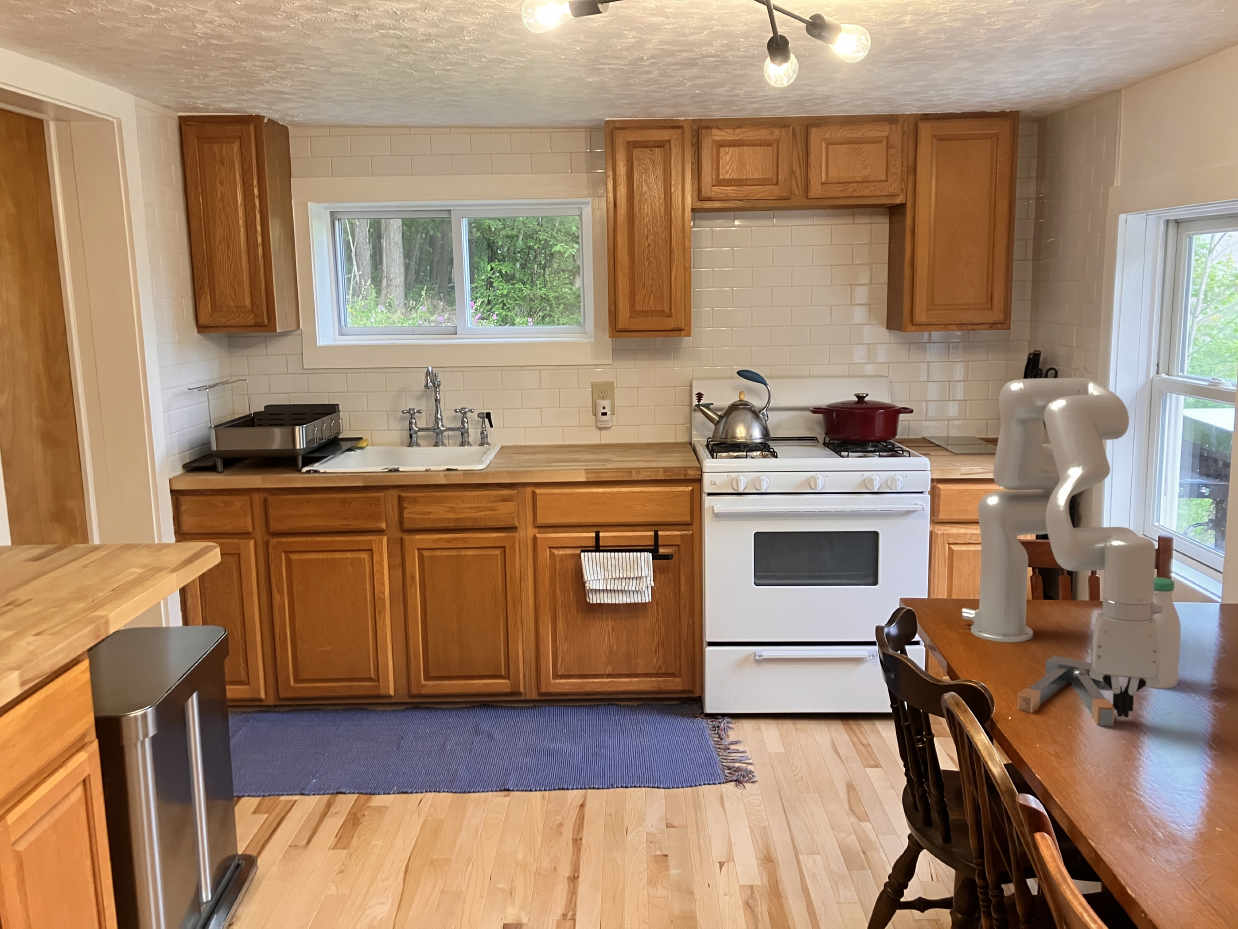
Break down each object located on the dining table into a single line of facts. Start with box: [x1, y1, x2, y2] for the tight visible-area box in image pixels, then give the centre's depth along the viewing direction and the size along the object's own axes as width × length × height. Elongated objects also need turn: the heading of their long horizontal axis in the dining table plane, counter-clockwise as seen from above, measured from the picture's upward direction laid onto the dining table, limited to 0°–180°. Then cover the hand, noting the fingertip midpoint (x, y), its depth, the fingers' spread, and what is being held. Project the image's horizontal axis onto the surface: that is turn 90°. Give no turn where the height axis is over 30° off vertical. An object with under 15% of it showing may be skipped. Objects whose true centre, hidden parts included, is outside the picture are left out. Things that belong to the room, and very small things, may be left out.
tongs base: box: [1016, 654, 1107, 714], centre depth 183 cm, size 10×23×4 cm, turn 137°
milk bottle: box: [1146, 576, 1181, 690], centre depth 188 cm, size 8×8×20 cm
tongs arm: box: [1072, 669, 1115, 728], centre depth 178 cm, size 19×3×3 cm, turn 169°
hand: (1122, 714), depth 171 cm, fingers closed
